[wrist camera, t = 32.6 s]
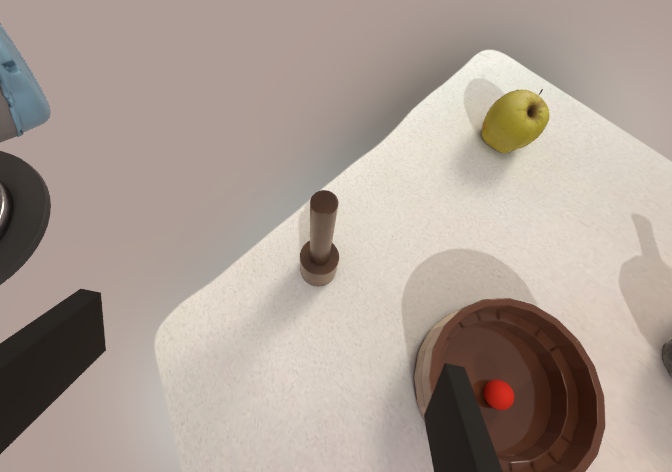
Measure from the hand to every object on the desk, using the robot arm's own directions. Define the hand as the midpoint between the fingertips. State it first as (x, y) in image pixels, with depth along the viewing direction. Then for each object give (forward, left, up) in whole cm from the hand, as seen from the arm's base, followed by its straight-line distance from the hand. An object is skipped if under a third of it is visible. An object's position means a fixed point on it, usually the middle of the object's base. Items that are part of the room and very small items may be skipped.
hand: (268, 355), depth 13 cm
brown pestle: (-8, +9, -28) cm, 31 cm away
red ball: (+16, +16, -26) cm, 34 cm away
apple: (-7, +44, -28) cm, 53 cm away
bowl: (+15, +16, -28) cm, 36 cm away
